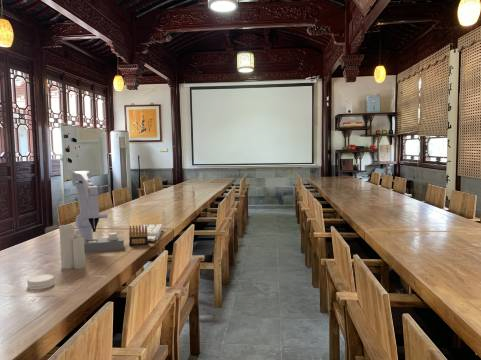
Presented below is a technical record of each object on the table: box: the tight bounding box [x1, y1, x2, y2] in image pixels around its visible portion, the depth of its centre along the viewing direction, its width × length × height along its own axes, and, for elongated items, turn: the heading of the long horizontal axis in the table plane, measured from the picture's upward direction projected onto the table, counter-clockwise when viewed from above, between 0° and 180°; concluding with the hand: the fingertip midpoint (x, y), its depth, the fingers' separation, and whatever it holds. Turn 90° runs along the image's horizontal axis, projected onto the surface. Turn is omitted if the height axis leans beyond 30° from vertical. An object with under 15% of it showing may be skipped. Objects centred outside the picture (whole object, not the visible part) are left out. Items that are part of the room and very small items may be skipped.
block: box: [84, 236, 125, 254], centre depth 214 cm, size 22×10×5 cm, turn 110°
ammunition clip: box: [128, 224, 149, 247], centre depth 222 cm, size 11×2×12 cm, turn 102°
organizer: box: [135, 223, 163, 242], centre depth 244 cm, size 13×5×35 cm
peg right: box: [108, 232, 118, 241], centre depth 216 cm, size 4×4×4 cm
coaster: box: [26, 273, 55, 291], centre depth 158 cm, size 10×10×4 cm
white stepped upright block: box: [58, 224, 86, 270], centre depth 182 cm, size 11×7×20 cm, turn 92°
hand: (94, 231), depth 212 cm, fingers closed
